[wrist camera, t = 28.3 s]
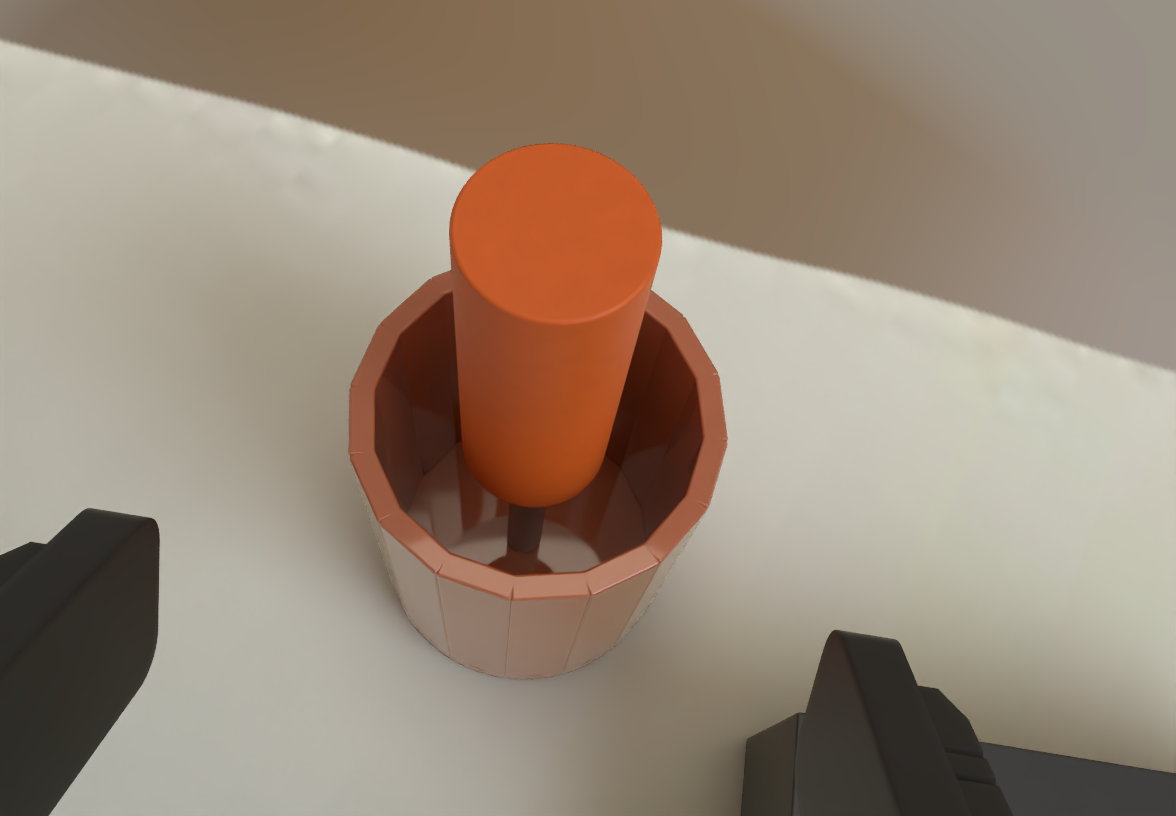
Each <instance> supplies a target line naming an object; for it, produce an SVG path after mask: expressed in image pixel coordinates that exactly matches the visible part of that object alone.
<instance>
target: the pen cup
mask: <svg viewBox="0 0 1176 816" xmlns="http://www.w3.org/2000/svg"><path fill="white" fill-rule="evenodd" d="M727 440H728V437H727V430H726V422H725V415H724V407H723V400H722V393H721V385H720V378H719V376H718V372H717V370H716V369H715V367H714V365H713V364H712V362H711V360H710V359H709V357H708V355H707V354H706V352H705V350H704V348H703V347H702V345H701V343H700V342H699V340H698V338H697V337H696V335H695V333H694V332H693V330H692V328H691V327H690V325H689V323H688V321H687V320H686V318H685V317H683V315H682V314H681V313H680V312H678V311H677V310H676V309H675V308H673V307H672V306H671V305H670V304H668V303H667V302H666V301H664V300H663V299H662V298H661V297H659V296H658V295H657V294H656V293H654V292H653V291H652V290H651V291H650V294H649V298H648V302H647V305H646V309H645V312H644V316H643V319H642V323H641V327H640V330H639V334H638V337H637V341H636V345H635V348H634V352H633V355H632V359H631V363H630V366H629V370H628V373H627V377H626V381H625V384H624V388H623V391H622V395H621V398H620V402H619V406H618V409H617V413H616V416H615V420H614V424H613V427H612V431H611V434H610V438H609V442H608V445H607V449H606V452H605V456H604V459H603V463H602V465H601V467H600V470H599V471H598V473H597V475H596V476H595V478H594V479H593V480H592V482H591V483H590V484H589V485H588V486H587V487H586V488H585V489H584V490H583V491H582V492H580V493H579V494H577V495H576V496H574V497H573V498H571V499H569V500H567V501H565V502H562V503H559V504H556V505H552V506H547V507H546V508H545V515H544V521H543V527H542V534H541V540H540V542H539V544H538V546H537V547H536V548H534V549H533V550H531V551H528V552H521V551H518V550H516V549H514V548H513V547H512V546H511V545H510V543H509V541H508V537H507V534H508V516H509V503H508V502H506V501H503V500H501V499H499V498H497V497H496V496H494V495H492V494H491V493H490V492H488V491H487V490H486V489H485V488H484V487H483V486H482V485H481V484H480V483H479V482H478V481H477V480H476V478H475V477H474V476H473V474H472V473H471V471H470V469H469V467H468V465H467V463H466V460H465V457H464V453H463V446H462V433H461V417H460V401H459V385H458V368H457V352H456V336H455V320H454V303H453V287H452V271H451V270H450V271H447V272H445V273H442V274H440V275H437V276H434V277H432V278H431V279H429V280H428V281H427V282H425V283H424V284H423V285H422V286H421V287H420V288H419V289H418V290H416V291H415V292H414V293H413V294H412V295H411V296H410V297H409V298H408V299H406V300H405V301H404V302H403V303H402V304H401V305H400V306H399V307H397V308H396V309H395V310H394V311H393V312H392V313H391V314H390V315H389V316H387V317H386V318H385V319H384V320H383V321H382V322H381V323H380V325H379V326H378V327H377V329H376V331H375V333H374V335H373V337H372V339H371V342H370V344H369V346H368V348H367V350H366V352H365V354H364V356H363V359H362V361H361V363H360V365H359V367H358V369H357V371H356V373H355V375H354V378H353V380H352V382H351V387H350V389H349V448H348V454H349V457H350V462H351V465H352V468H353V471H354V474H355V477H356V480H357V483H358V486H359V489H360V492H361V495H362V498H363V501H364V504H365V507H366V510H367V513H368V516H369V519H370V522H371V525H372V528H373V531H374V534H375V536H376V539H377V542H378V545H379V548H380V551H381V554H382V557H383V560H384V563H385V566H386V569H387V572H388V574H389V577H390V579H391V581H392V583H393V586H394V588H395V590H396V593H397V595H398V598H399V600H400V602H401V604H402V606H403V608H404V611H405V613H406V615H407V617H408V618H409V620H410V621H411V622H412V623H413V624H414V625H415V627H416V628H417V630H418V631H419V632H420V633H421V634H422V635H423V636H424V637H425V638H426V639H427V640H428V641H429V642H430V643H431V644H432V645H433V646H434V647H436V648H437V649H438V650H439V651H441V652H442V653H443V654H444V655H446V656H448V657H449V658H451V659H453V660H454V661H456V662H458V663H459V664H461V665H463V666H466V667H468V668H470V669H473V670H475V671H477V672H481V673H484V674H488V675H491V676H495V677H502V678H509V679H539V678H547V677H553V676H557V675H560V674H564V673H568V672H571V671H573V670H576V669H578V668H580V667H583V666H585V665H587V664H589V663H591V662H592V661H594V660H596V659H597V658H599V657H601V656H602V655H604V654H605V653H606V652H608V651H609V650H611V649H612V648H613V647H615V646H616V645H617V644H618V642H619V641H620V640H621V639H622V638H623V637H624V636H625V635H626V634H627V633H628V632H629V631H630V630H631V628H632V627H633V626H634V624H635V623H636V622H637V620H638V619H639V618H640V617H641V616H642V614H643V613H644V612H645V611H646V610H647V609H648V607H649V605H650V604H651V602H652V600H653V599H654V597H655V595H656V594H657V592H658V590H659V589H660V587H661V585H662V584H663V582H664V580H665V579H666V577H667V576H668V574H669V572H670V571H671V569H672V567H673V566H674V564H675V562H676V561H677V559H678V557H679V556H680V554H681V552H682V551H683V549H684V547H685V546H686V544H687V542H688V541H689V539H690V537H691V536H692V534H693V532H694V531H695V529H696V527H697V526H698V524H699V523H700V521H701V519H702V518H703V516H704V514H705V513H706V511H707V509H708V507H709V505H710V502H711V498H712V495H713V492H714V488H715V485H716V482H717V478H718V475H719V472H720V468H721V465H722V461H723V458H724V455H725V451H726V448H727Z"/></svg>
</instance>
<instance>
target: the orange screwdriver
mask: <svg viewBox="0 0 1176 816" xmlns="http://www.w3.org/2000/svg"><path fill="white" fill-rule="evenodd" d="M449 238H450V255H451V271H452V287H453V303H454V320H455V336H456V352H457V368H458V385H459V401H460V417H461V433H462V446H463V453H464V457H465V460H466V463H467V465H468V467H469V469H470V471H471V473H472V474H473V476H474V477H475V478H476V480H477V481H478V482H479V483H480V484H481V485H482V486H483V487H484V488H485V489H486V490H487V491H488V492H490V493H491V494H492V495H494V496H496V497H497V498H499V499H501V500H503V501H506V502H508V503H509V516H508V534H507V537H508V541H509V543H510V545H511V546H512V547H513V548H514V549H516V550H518V551H521V552H528V551H531V550H533V549H534V548H536V547H537V546H538V544H539V542H540V540H541V534H542V527H543V521H544V515H545V508H546V507H547V506H552V505H556V504H559V503H562V502H565V501H567V500H569V499H571V498H573V497H574V496H576V495H577V494H579V493H580V492H582V491H583V490H584V489H585V488H586V487H587V486H588V485H589V484H590V483H591V482H592V480H593V479H594V478H595V476H596V475H597V473H598V471H599V470H600V467H601V465H602V463H603V459H604V456H605V452H606V449H607V445H608V442H609V438H610V434H611V431H612V427H613V424H614V420H615V416H616V413H617V409H618V406H619V402H620V398H621V395H622V391H623V388H624V384H625V381H626V377H627V373H628V370H629V366H630V363H631V359H632V355H633V352H634V348H635V345H636V341H637V337H638V334H639V330H640V327H641V323H642V319H643V316H644V312H645V309H646V305H647V302H648V298H649V294H650V291H651V287H652V284H653V280H654V276H655V273H656V269H657V266H658V262H659V258H660V255H661V247H662V230H661V224H660V219H659V216H658V213H657V210H656V207H655V205H654V204H653V202H652V200H651V198H650V196H649V194H648V193H647V191H646V190H645V188H644V187H643V185H642V184H641V183H640V182H639V181H638V180H637V179H636V178H635V176H634V175H632V174H631V173H630V172H629V171H628V170H627V169H626V168H624V167H623V166H621V165H620V164H618V163H617V162H616V161H614V160H612V159H610V158H608V157H606V156H605V155H603V154H600V153H598V152H595V151H593V150H590V149H586V148H583V147H579V146H573V145H568V144H555V143H548V144H535V145H529V146H524V147H520V148H517V149H514V150H511V151H508V152H506V153H504V154H501V155H499V156H498V157H496V158H494V159H492V160H490V161H489V162H488V163H486V164H485V165H484V166H483V167H481V168H480V169H479V170H478V171H477V172H476V173H475V174H473V175H472V176H471V178H470V179H469V180H468V181H467V183H466V184H465V185H464V187H463V188H462V190H461V191H460V193H459V195H458V197H457V199H456V201H455V204H454V206H453V209H452V213H451V218H450V228H449Z"/></svg>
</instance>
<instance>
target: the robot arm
mask: <svg viewBox="0 0 1176 816" xmlns="http://www.w3.org/2000/svg"><path fill="white" fill-rule="evenodd" d="M159 546H160V538H159V528H158V525H157V523H156V521H155V520H154V519H152V518H148V517H142V516H136V515H129V514H123V513H117V512H111V511H105V510H98V509H92V508H87V509H85V510H83V511H82V512H81V513H79V514H78V515H77V516H76V517H75V518H74V519H73V520H72V521H71V522H70V523H69V524H68V525H67V526H65V527H64V528H63V529H62V530H61V531H60V532H59V533H58V534H57V535H56V536H55V537H54V538H53V539H52V540H50V541H49V542H48V543H47V544H41V543H35V542H29V543H27V544H25V545H23V546H20V547H18V548H16V549H14V550H11V551H9V552H7V553H5V554H2V555H0V816H49V814H50V813H51V812H52V810H53V809H54V807H55V806H56V805H57V803H58V802H59V800H60V799H61V798H62V796H63V795H64V793H65V792H66V791H67V789H68V788H69V786H70V785H71V784H72V782H73V781H74V779H75V778H76V777H77V775H78V774H79V772H80V771H81V770H82V768H83V767H84V765H85V764H86V763H87V761H88V760H89V758H90V757H91V756H92V754H93V753H94V751H95V750H96V749H97V747H98V746H99V744H100V743H101V742H102V740H103V739H104V737H105V736H106V735H107V733H108V732H109V730H110V729H111V728H112V726H113V725H114V723H115V722H116V721H117V719H118V718H119V716H120V715H121V714H122V712H123V711H124V709H125V708H126V707H127V705H128V704H129V702H130V701H131V699H132V698H133V697H134V695H135V694H136V692H137V691H138V690H139V688H140V687H141V685H142V684H143V682H144V680H145V678H146V676H147V674H148V671H149V669H150V666H151V663H152V660H153V657H154V653H155V649H156V643H157V636H158V602H159ZM983 753H984V752H983V750H982V748H981V745H980V743H979V741H978V739H977V737H976V735H975V733H974V730H973V728H972V726H971V724H970V722H969V720H968V719H967V718H966V717H965V716H964V715H963V714H962V713H961V712H960V711H959V710H958V709H957V708H956V707H955V706H954V705H953V704H952V703H951V702H950V701H949V700H948V699H947V698H946V697H945V696H944V695H943V694H942V692H941V691H940V690H939V689H935V688H929V687H923V686H918V685H917V683H916V680H915V678H914V675H913V673H912V671H911V668H910V666H909V663H908V661H907V659H906V656H905V654H904V651H903V649H902V647H901V645H900V643H899V642H898V641H897V640H895V639H889V638H883V637H877V636H871V635H865V634H858V633H852V632H846V631H840V630H834V631H832V632H831V634H830V635H829V637H828V638H827V641H826V643H825V646H824V649H823V653H822V656H821V660H820V663H819V667H818V671H817V674H816V678H815V681H814V685H813V688H812V692H811V695H810V699H809V702H808V706H807V709H806V713H805V716H804V720H803V723H802V727H801V730H800V734H799V738H798V743H797V749H796V757H795V788H796V794H797V799H798V803H799V808H800V813H801V816H1013V814H1012V812H1011V810H1010V807H1009V805H1008V803H1007V801H1006V799H1005V797H1004V795H1003V792H1002V790H1001V788H1000V786H996V777H995V775H994V773H993V771H992V769H991V767H990V765H989V763H988V760H987V759H985V758H983Z"/></svg>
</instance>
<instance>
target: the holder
mask: <svg viewBox="0 0 1176 816" xmlns="http://www.w3.org/2000/svg"><path fill="white" fill-rule="evenodd" d="M804 716H805V713H800V712H799V713H796V714H795V715H793V716H791V717H789V718H787V719H785V720H783V721H781V722H779V723H777V724H775V725H773V726H771V727H769V728H767V729H765V730H763V731H762V732H760V733H758V734H756V735H754V736H752V737H750V738H748V739H747V745H746V758H745V770H744V782H743V795H742V807H741V816H801V813H800V808H799V803H798V799H797V794H796V788H795V757H796V749H797V743H798V738H799V734H800V730H801V727H802V723H803V720H804ZM979 743H980V745H981V748H982V750H983V752H984V753H983V758H985V759H987V760H988V763H989V765H990V767H991V769H992V771H993V773H994V775H995V777H996V786H1000V788H1001V790H1002V792H1003V795H1004V797H1005V799H1006V801H1007V803H1008V805H1009V807H1010V810H1011V812H1012V814H1013V816H1176V774H1175V773H1169V772H1163V771H1157V770H1151V769H1144V768H1138V767H1132V766H1126V765H1120V764H1114V763H1108V762H1101V761H1095V760H1089V759H1083V758H1077V757H1071V756H1065V755H1058V754H1052V753H1046V752H1040V751H1034V750H1028V749H1022V748H1015V747H1009V746H1003V745H997V744H991V743H985V742H979Z"/></svg>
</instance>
